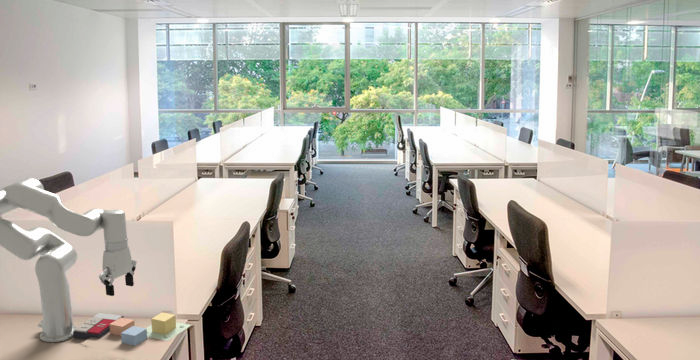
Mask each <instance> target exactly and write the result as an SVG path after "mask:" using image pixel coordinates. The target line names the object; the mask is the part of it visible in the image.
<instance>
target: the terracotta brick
mask: <svg viewBox="0 0 700 360" xmlns="http://www.w3.org/2000/svg"><path fill="white" fill-rule="evenodd" d="M109 326H110V332H109V334H111V335H115V336H121V333H122V332H124V331H125V330H127V329H129V328H130V327H132V326H135V327H136V325H135V319H130V318H120V319H118V320H116V321H114V322H112V323H110V324H109Z"/></svg>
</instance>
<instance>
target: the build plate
mask: <svg viewBox="0 0 700 360" xmlns="http://www.w3.org/2000/svg"><path fill="white" fill-rule="evenodd" d="M189 327H192V324H188V323H183V322H178V321H176V328H175V329H173V330H172V331H170V332H168V333H167V334H161V333H157V332H152V324H150V325H148V326H147V327H146V328H145V329H147V338H151V339H155V340H160V341H166V342H168V341H170V340H171V339H173V338H174V337H176V336H178V335H179V334H181V333H182V332H184V331H185V330H186V329H188V328H189Z"/></svg>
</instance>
